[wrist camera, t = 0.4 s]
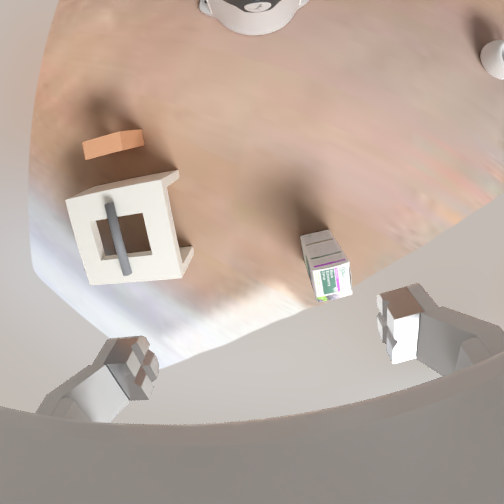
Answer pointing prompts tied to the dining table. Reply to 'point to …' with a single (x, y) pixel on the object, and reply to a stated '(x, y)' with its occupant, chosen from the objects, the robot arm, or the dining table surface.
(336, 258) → the syrup box
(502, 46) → the mug
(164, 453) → the robot arm
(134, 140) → the notched wooden block
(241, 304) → the dining table surface
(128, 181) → the shelf
